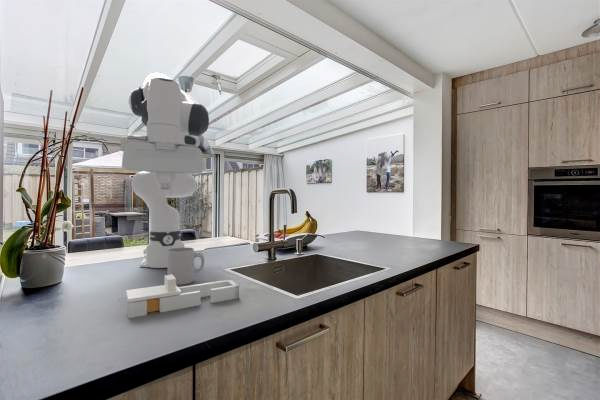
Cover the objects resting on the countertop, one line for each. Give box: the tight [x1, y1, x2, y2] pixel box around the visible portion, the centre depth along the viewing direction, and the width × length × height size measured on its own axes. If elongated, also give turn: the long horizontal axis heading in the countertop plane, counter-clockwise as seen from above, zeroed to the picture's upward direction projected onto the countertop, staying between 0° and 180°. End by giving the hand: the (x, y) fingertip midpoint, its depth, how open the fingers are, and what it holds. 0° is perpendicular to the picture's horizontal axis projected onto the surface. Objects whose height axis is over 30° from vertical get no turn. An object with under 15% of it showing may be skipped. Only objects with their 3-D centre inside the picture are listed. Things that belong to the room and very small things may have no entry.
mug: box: [167, 247, 205, 286], centre depth 105 cm, size 12×8×11 cm
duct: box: [127, 279, 240, 319], centre depth 84 cm, size 7×28×4 cm, turn 123°
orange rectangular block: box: [147, 298, 159, 313], centre depth 79 cm, size 3×9×3 cm, turn 123°
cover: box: [125, 274, 181, 303], centre depth 79 cm, size 8×12×4 cm, turn 123°
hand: (164, 189), depth 83 cm, fingers closed
